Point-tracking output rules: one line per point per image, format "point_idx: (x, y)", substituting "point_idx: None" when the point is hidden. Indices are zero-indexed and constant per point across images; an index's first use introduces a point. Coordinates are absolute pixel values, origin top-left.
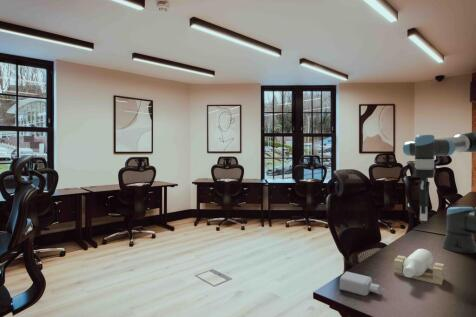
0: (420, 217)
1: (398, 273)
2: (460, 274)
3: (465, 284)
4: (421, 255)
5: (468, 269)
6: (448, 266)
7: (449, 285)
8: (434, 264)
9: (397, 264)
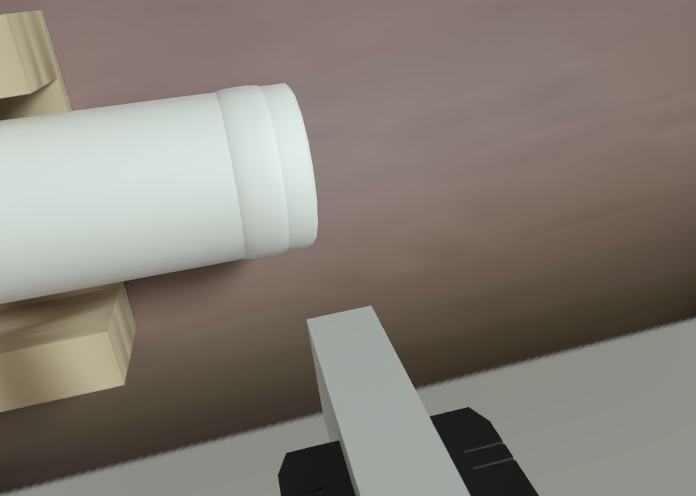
0: (319, 359)
1: None
2: None
3: (146, 432)
4: (8, 271)
5: (463, 364)
6: (435, 268)
7: None
8: (40, 346)
9: None
